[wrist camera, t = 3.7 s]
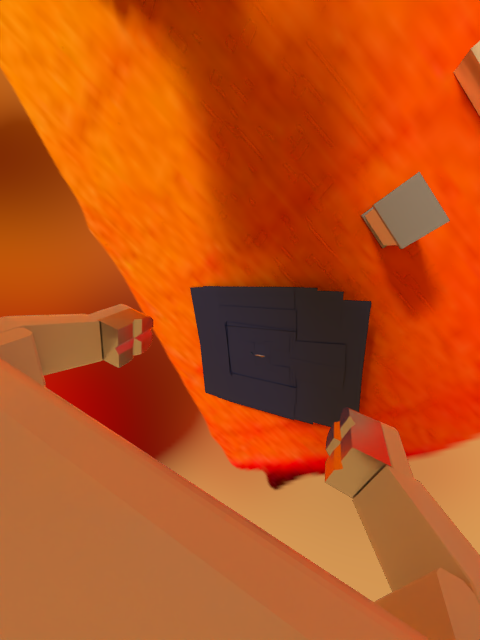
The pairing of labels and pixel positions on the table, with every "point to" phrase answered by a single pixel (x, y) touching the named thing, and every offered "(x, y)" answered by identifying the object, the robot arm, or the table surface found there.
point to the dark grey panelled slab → (283, 349)
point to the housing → (405, 214)
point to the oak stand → (471, 75)
